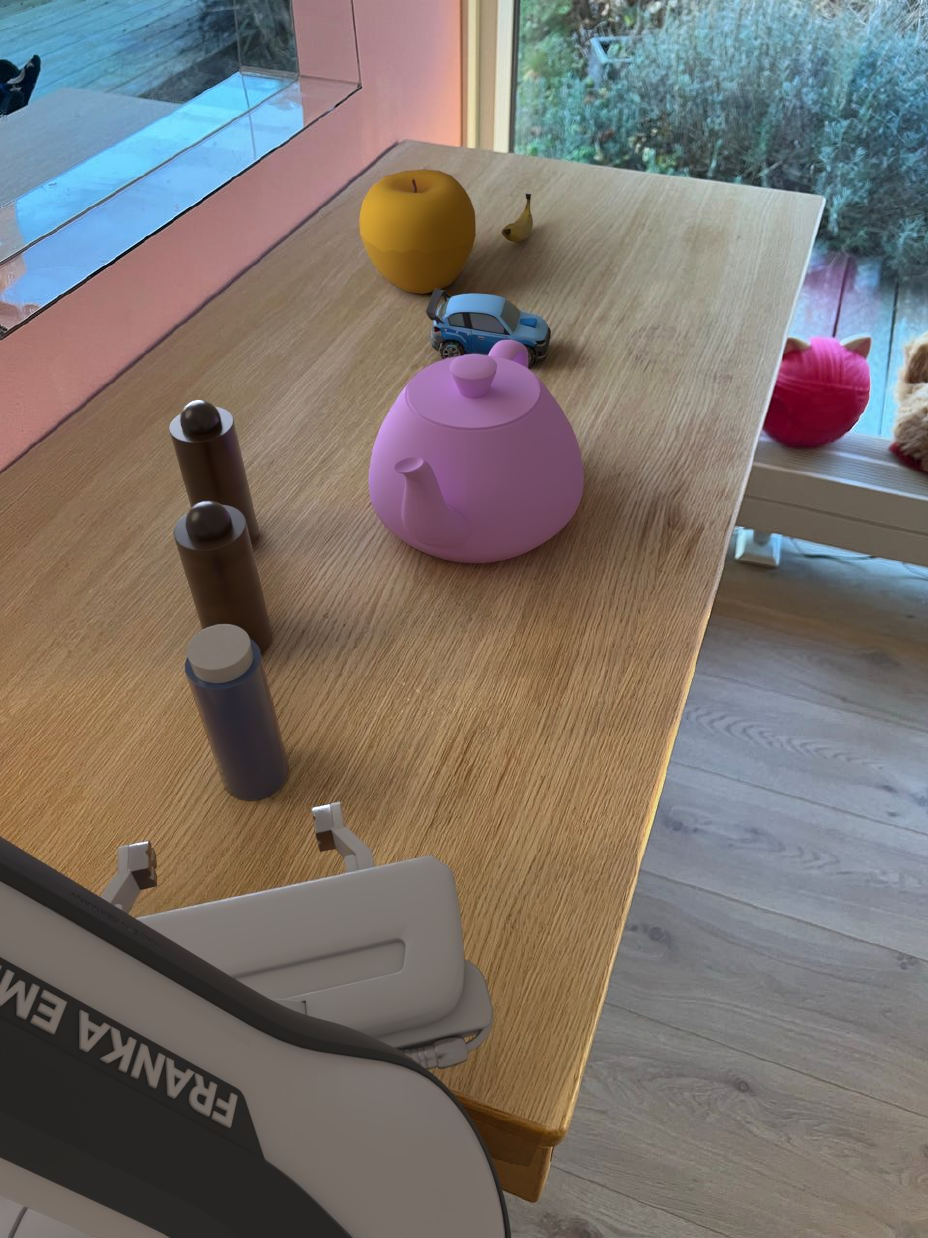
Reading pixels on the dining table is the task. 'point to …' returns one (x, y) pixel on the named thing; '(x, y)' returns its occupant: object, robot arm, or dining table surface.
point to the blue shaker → (237, 711)
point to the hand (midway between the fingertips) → (233, 829)
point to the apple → (418, 229)
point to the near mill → (223, 570)
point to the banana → (520, 225)
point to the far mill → (212, 459)
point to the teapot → (476, 460)
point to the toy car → (484, 325)
